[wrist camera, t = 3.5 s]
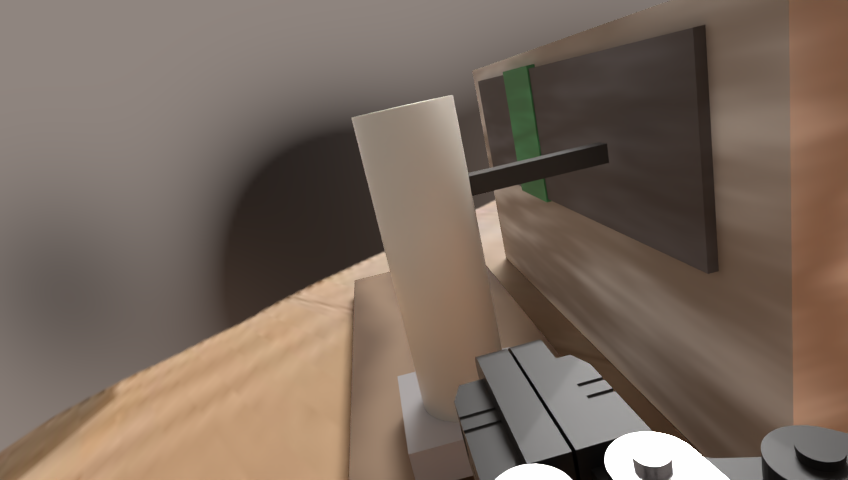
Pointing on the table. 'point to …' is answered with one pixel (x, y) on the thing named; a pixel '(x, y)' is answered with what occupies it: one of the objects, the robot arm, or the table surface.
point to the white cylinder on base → (440, 261)
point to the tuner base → (666, 221)
